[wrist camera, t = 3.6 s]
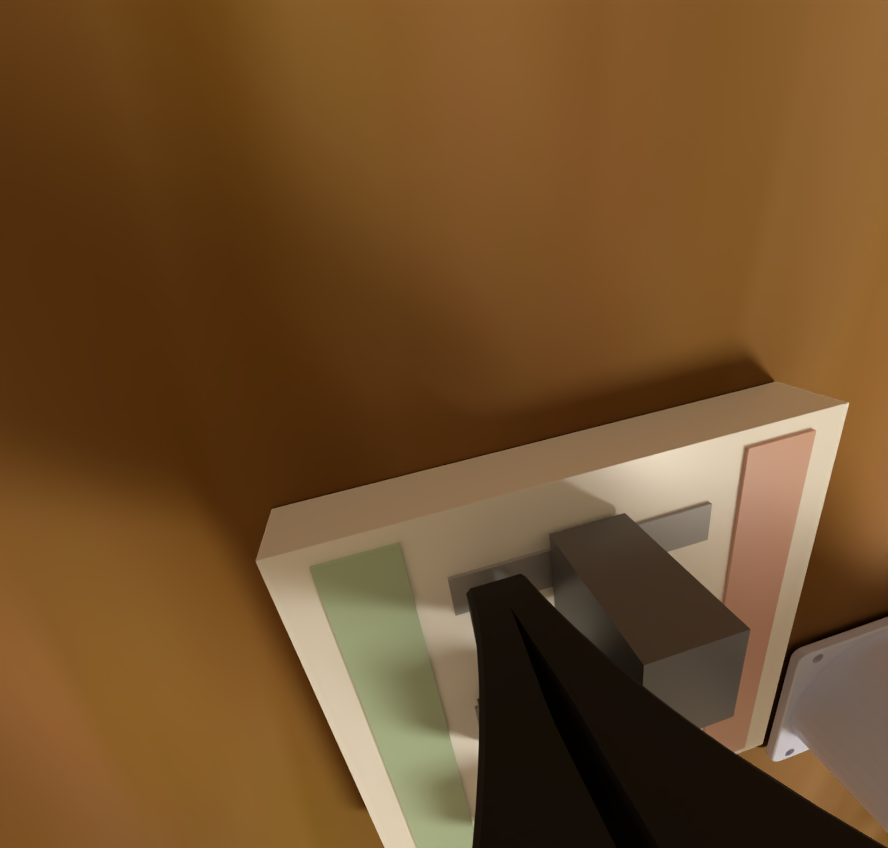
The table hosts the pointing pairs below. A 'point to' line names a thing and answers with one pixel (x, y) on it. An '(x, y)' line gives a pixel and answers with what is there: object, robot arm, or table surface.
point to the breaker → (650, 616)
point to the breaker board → (536, 576)
